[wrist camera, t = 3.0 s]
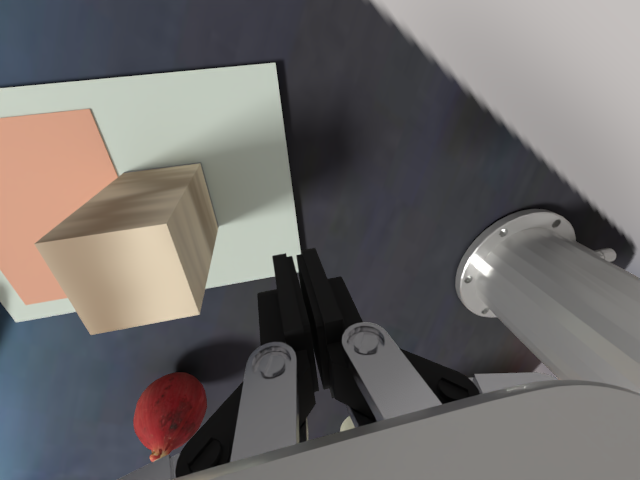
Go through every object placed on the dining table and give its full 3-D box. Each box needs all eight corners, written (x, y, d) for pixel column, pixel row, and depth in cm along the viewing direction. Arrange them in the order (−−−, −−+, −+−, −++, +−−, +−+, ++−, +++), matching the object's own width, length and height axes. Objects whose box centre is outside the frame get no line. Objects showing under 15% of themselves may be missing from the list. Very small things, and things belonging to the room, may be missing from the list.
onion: (169, 344, 29) (143, 430, 22) (222, 366, 32) (213, 448, 25) (136, 381, 30) (102, 473, 24) (190, 399, 33) (173, 486, 26)
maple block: (201, 162, 21) (166, 223, 13) (218, 226, 24) (199, 314, 15) (124, 172, 21) (33, 243, 12) (150, 237, 23) (90, 334, 15)
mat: (274, 62, 20) (275, 62, 19) (302, 268, 28) (303, 271, 27) (-143, 101, 17) (-155, 102, 17) (20, 318, 25) (15, 323, 24)
